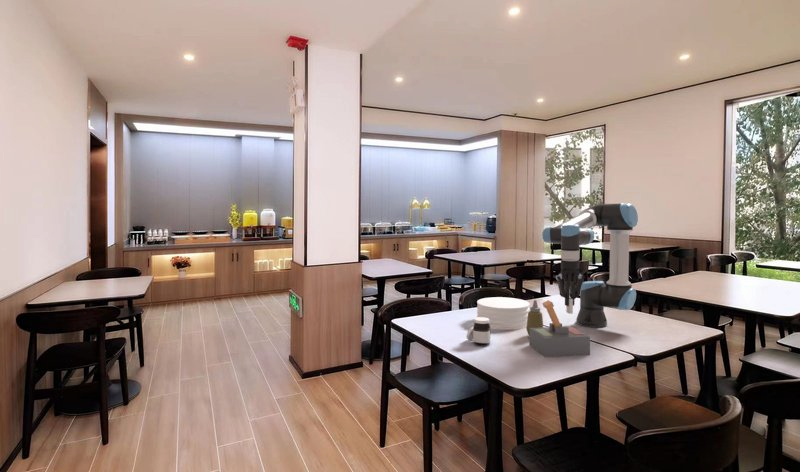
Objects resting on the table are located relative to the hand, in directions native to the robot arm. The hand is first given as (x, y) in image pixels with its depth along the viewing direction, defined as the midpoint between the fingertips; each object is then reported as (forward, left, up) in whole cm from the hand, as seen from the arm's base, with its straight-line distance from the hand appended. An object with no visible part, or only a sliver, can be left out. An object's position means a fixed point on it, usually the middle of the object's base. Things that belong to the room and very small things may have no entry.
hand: (569, 312), depth 187 cm
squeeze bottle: (+7, -20, -17) cm, 27 cm away
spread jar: (+37, -15, -17) cm, 43 cm away
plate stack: (+13, -47, -17) cm, 52 cm away
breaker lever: (+5, 0, -8) cm, 9 cm away
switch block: (+5, 0, -16) cm, 17 cm away
